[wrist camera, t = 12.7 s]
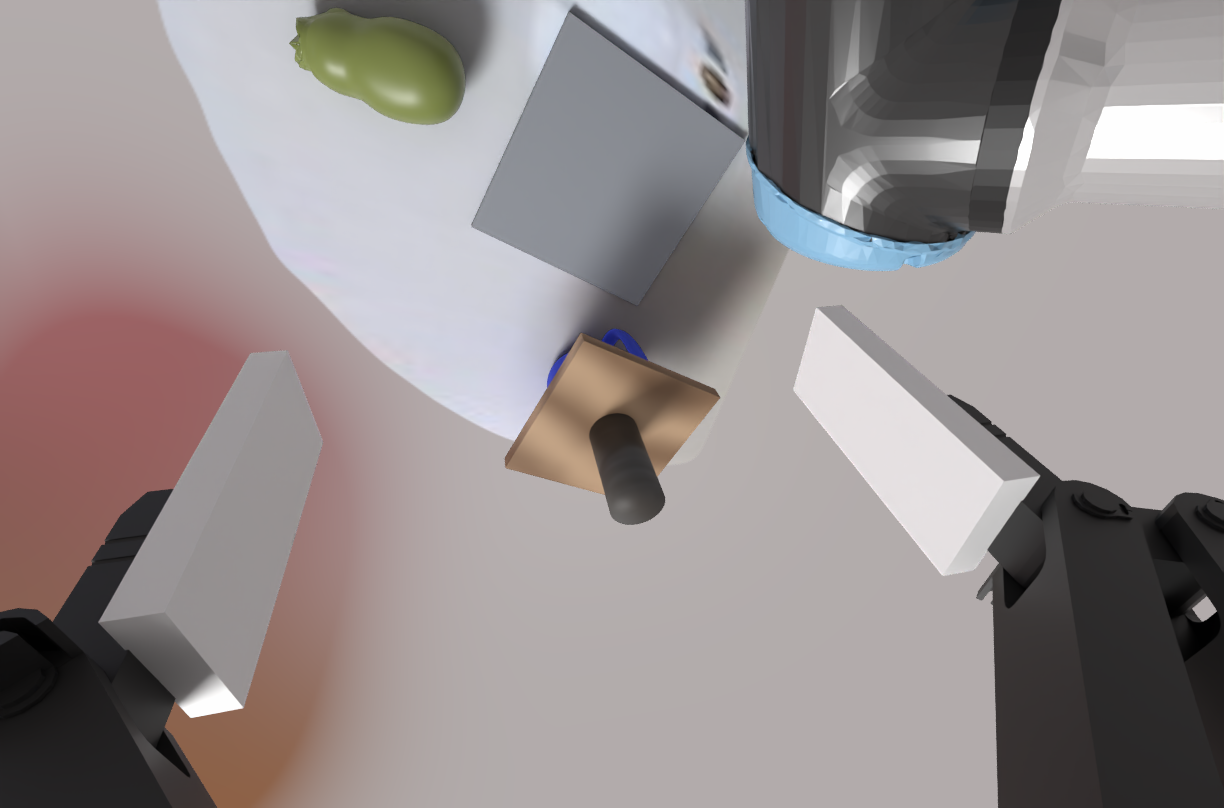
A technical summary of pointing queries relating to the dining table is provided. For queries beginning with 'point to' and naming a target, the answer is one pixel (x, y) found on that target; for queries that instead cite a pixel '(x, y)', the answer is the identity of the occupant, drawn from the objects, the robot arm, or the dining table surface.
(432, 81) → the pear
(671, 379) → the lid
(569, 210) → the mat
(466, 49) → the dining table surface
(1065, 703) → the robot arm
